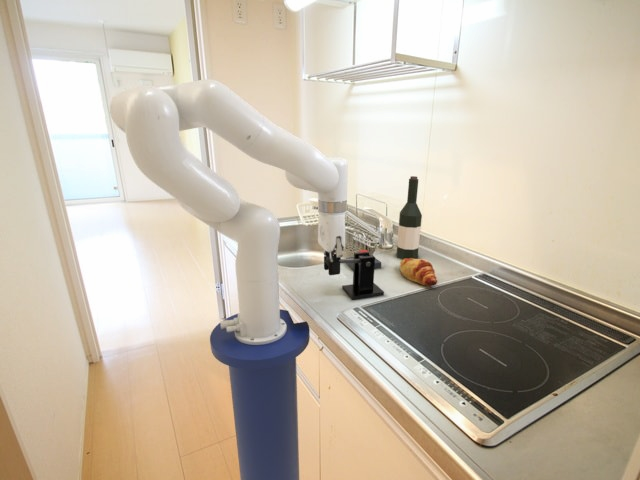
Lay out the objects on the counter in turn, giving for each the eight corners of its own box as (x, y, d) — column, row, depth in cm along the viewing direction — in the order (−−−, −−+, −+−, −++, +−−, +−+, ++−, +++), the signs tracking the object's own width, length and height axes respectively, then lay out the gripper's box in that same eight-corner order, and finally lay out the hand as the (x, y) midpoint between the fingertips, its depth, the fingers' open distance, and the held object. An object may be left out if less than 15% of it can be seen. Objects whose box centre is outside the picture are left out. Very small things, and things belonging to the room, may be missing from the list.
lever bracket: (352, 300, 102) (353, 261, 98) (342, 289, 109) (343, 252, 105) (383, 295, 105) (386, 257, 101) (372, 285, 112) (374, 248, 108)
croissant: (394, 275, 129) (385, 258, 125) (417, 261, 130) (409, 242, 126) (426, 300, 110) (417, 280, 106) (452, 282, 111) (445, 262, 108)
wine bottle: (420, 255, 140) (428, 176, 130) (414, 261, 133) (422, 178, 123) (399, 251, 143) (405, 174, 133) (393, 258, 136) (399, 177, 126)
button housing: (354, 271, 122) (354, 260, 121) (346, 263, 129) (346, 253, 128) (381, 268, 126) (381, 257, 125) (371, 260, 133) (371, 250, 132)
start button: (361, 258, 124) (361, 253, 124) (356, 255, 127) (357, 250, 127) (370, 257, 125) (370, 252, 125) (366, 254, 129) (366, 249, 128)
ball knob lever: (327, 268, 98) (328, 257, 97) (323, 264, 101) (324, 253, 100) (370, 267, 103) (371, 257, 102) (365, 264, 106) (366, 253, 105)
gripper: (309, 201, 100) (310, 263, 107) (328, 214, 86) (328, 285, 93) (335, 200, 103) (334, 260, 109) (357, 212, 89) (355, 281, 95)
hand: (331, 271), depth 101 cm, fingers closed on ball knob lever, 3 cm apart
